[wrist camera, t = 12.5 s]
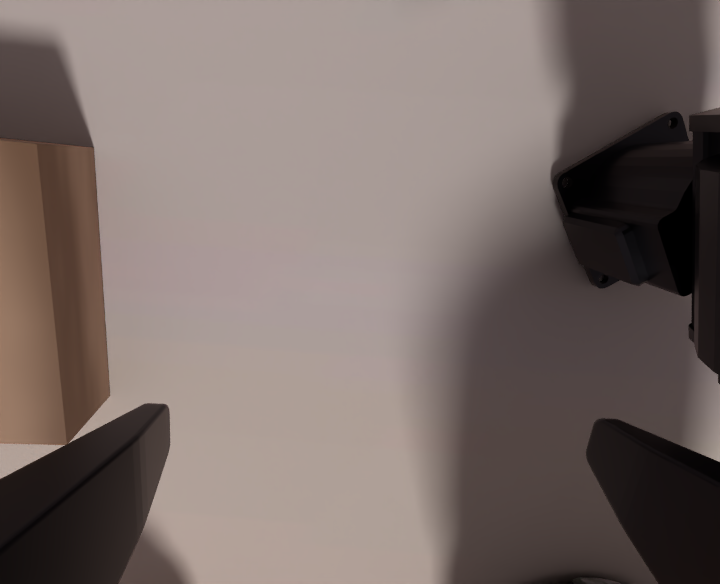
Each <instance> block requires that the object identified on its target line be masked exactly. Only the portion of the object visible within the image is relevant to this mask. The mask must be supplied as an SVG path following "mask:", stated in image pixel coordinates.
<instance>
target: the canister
mask: <svg viewBox="0 0 720 584" xmlns="http://www.w3.org/2000/svg"><path fill="white" fill-rule="evenodd" d="M572 581H573V583H574V584H621V583H619V582H616V581H612V580H607V579H601V578H576V579H573V580H572Z"/></svg>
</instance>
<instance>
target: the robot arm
mask: <svg viewBox="0 0 720 584" xmlns="http://www.w3.org/2000/svg"><path fill="white" fill-rule="evenodd" d="M669 120H671V126H670V127H668V121H669ZM689 131H693V141H689V139H688V136H687V132H686V128H685V125H684V121H683V118H682V116H681V114H680V113H678V112H669V113H665V114H662V115H661V116H659V117H657V118H655V119H654V120H652V121H650V122H648V123H647V124H645V125H643V126H641V127H639V128H638V129H636V130H634V131H632V132H631V133H629V134H627V135H625V136H624V137H622V138H620V139H618V140H616V141H615V142H613V143H611V144H609V145H608V146H606V147H604V148H602V149H601V150H599V151H597V152H595V153H594V154H592V155H590V156H588V157H586V158H585V159H583V160H581V161H579V162H578V163H576V164H574V165H572V166H571V167H569V168H567V169H565V170H563V171H562V172H560V173H558V174H557V175H556V176H555V178H554V180H553V188H554V190H555V193H556V195H557V198H558V201H559V203H560V206H561V208H562V211H563V213H564V216H565V217H564V221H563V225H564V227H565V230H566V232H567V235H568V237H569V240H570V242H571V245H572V247H573V250H574V252H575V255H576V258H577V260H578V262H579V264H581V265H583V266H584V267H585V270H586V272H587V275H588V277H589V280H590V282H591V284H592V285H594V286H596V287H598V288H606V287H608V286H610V285H612V284H613V283H615V282H617V281H619V280H622V281H625V282H627V283H630V284H633V285H636V286H639V285H641V284H643V283H648V284H650V285H653V286H656V287H659V288H661V289H664V290H667V291H669V292H672V293H675V294H678V295H680V296H687V295H689V294H691V293H692V323H691V324H689V332H688V337H689V339H690V340H691V341H692V342H693V343H694V345H695V349H696V352H697V356H698V358H699V359H700V360H701V361H703V362H704V363H705V364H706V365H707V366H708V367H709V368H710V369H711V370H712V371H713V372H715V373H716V374H718V383H719V384H720V108H716V109H712V110H708V111H704V112H700V113H696V114H692V115H689ZM565 178H567V180H568V183H567V185H566V186H565V187H563V186H562V182H563V180H564V179H565ZM601 275H603V276H604V277H603V279H602V280H601V281H599V278H600V276H601ZM169 448H170V414H169V408H168V406H167V405H166V404H152V403H147V404H143V405H141V406H140V407H138V408H136V409H134V410H132V411H130V412H128V413H126V414H124V415H122V416H120V417H118V418H117V419H115V420H113V421H111V422H109V423H107V424H105V425H103V426H101V427H99V428H97V429H95V430H94V431H92V432H90V433H88V434H86V435H84V436H82V437H80V438H78V439H76V440H74V441H72V442H71V443H69V444H67V445H65V446H63V447H61V448H59V449H57V450H55V451H53V452H51V453H49V454H47V455H46V456H44V457H42V458H40V459H38V460H36V461H34V462H32V463H30V464H28V465H26V466H24V467H23V468H21V469H19V470H17V471H15V472H13V473H11V474H9V475H7V476H5V477H3V478H1V479H0V584H119V581H120V579H121V577H122V575H123V573H124V570H125V568H126V566H127V564H128V562H129V560H130V557H131V555H132V553H133V551H134V549H135V546H136V544H137V542H138V540H139V537H140V535H141V533H142V530H143V528H144V525H145V522H146V520H147V517H148V514H149V511H150V508H151V505H152V502H153V499H154V496H155V492H156V489H157V486H158V483H159V480H160V477H161V474H162V471H163V468H164V465H165V462H166V459H167V456H168V453H169ZM586 458H587V461H588V463H589V465H590V467H591V469H592V471H593V473H594V475H595V477H596V479H597V481H598V482H599V484H600V486H601V488H602V490H603V492H604V494H605V496H606V497H607V499H608V501H609V503H610V505H611V507H612V509H613V511H614V513H615V514H616V516H617V518H618V520H619V522H620V524H621V525H622V527H623V529H624V530H625V532H626V534H627V535H628V537H629V539H630V540H631V542H632V543H633V545H634V546H635V548H636V549H637V551H638V553H639V554H640V556H641V557H642V559H643V560H644V562H645V563H646V565H647V567H648V568H649V570H650V571H651V573H652V574H653V576H654V577H655V579H656V581H657V582H658V584H720V462H718V461H716V460H713V459H711V458H709V457H706V456H704V455H701V454H699V453H697V452H694V451H692V450H690V449H687V448H685V447H682V446H680V445H678V444H675V443H673V442H670V441H668V440H666V439H663V438H661V437H659V436H656V435H654V434H651V433H649V432H647V431H644V430H642V429H640V428H637V427H635V426H632V425H630V424H628V423H625V422H623V421H620V420H618V419H605V418H601V419H598V420H596V421H595V423H594V425H593V428H592V432H591V435H590V439H589V442H588V446H587V449H586Z"/></svg>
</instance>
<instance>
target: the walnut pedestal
mask: <svg viewBox="0 0 720 584" xmlns="http://www.w3.org/2000/svg"><path fill="white" fill-rule="evenodd" d="M109 396H110V389H109V374H108V359H107V344H106V328H105V313H104V298H103V283H102V268H101V253H100V238H99V222H98V207H97V192H96V177H95V162H94V148H93V147H83V146H73V145H64V144H54V143H45V142H35V141H25V140H16V139H6V138H0V443H4V444H48V445H67V444H68V443H69V442H70V441H71V440H72V439H73V437H74V436H75V435H76V434H77V433H78V432H79V431H80V429H81V428H82V427H83V426H84V425H85V424H86V423H87V421H88V420H89V419H90V418H91V417H92V416H93V415H94V413H95V412H96V411H97V410H98V409H99V408H100V406H101V405H102V404H103V403H104V402H105V401H106V400H107V398H108V397H109Z"/></svg>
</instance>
